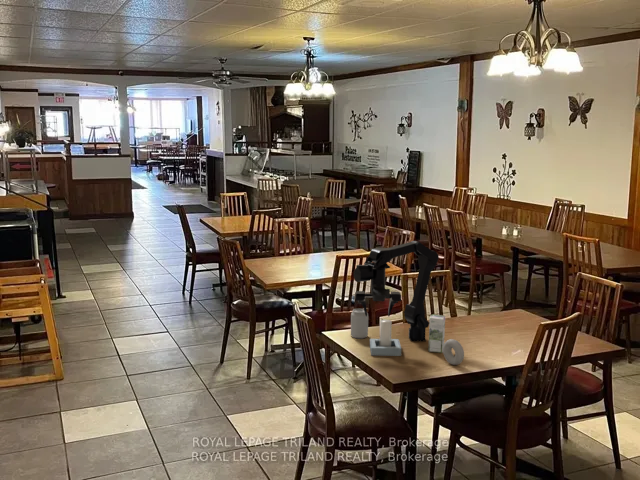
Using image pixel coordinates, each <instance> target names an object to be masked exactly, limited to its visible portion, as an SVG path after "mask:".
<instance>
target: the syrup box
mask: <svg viewBox="0 0 640 480" xmlns="http://www.w3.org/2000/svg"><path fill="white" fill-rule="evenodd" d="M429 316H430V317H429V319H428V322H429V326H428V352H429V353H439V354H440V353H441V354H443V346H444V343H445V332H446V331H445V329H446V315H442V314H430V315H429Z"/></svg>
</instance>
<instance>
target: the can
mask: <svg viewBox="0 0 640 480" xmlns="http://www.w3.org/2000/svg"><path fill="white" fill-rule="evenodd" d="M368 335H369V313H368V312H367V316H366V315H365V311H364V308H353V309H352V312H351V313H350V336H351V337H352V338H354V339H357V340H358V339H359V340H361V339H362V340H363V339H365V338H367V337H368Z"/></svg>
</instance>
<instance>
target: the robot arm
mask: <svg viewBox="0 0 640 480" xmlns="http://www.w3.org/2000/svg"><path fill="white" fill-rule="evenodd" d="M412 253H414V254H415V255H416V256H418V260H417V263H418V266H419V267H418V268H419V270H418V274H417V279H416V283H415V287H414V291H413V296H412V300H411V302H410V303H409V304H408V303H406V304H405V309H404V311H403V314H404V318H405V320H406V321H407V322H406V323H407V324H408V325H410V326H409V327H408V339H409V340H410V342H426V341H427V340H426V331H427V329H428V328H429V320H427V319H426V318H425V315H426V311H425V306H424V302H425V299H426V294H427V291H428V290H427V289H428V285H429V281H430V278H431V277H430V276H431V272H433V270H434V269H435V267H436V266H437V263H438V261H439V257H440V255H439V254H438V251H436V250H431V248H428V247H427V246H425V245H424V243H422V242H420V241H416V240H411V241H409V242H405V243H403V244H398V245H394V246H390V247H375V248H372V249H371V250H370V252H369V255H368V256H367V258H366V260H365V262H364V263H363V264H357V265H356V267H355V268H354V270H353V275H352V276H353V279H354V281H355V283H361V282H368V281H370V282H371V283H370V284H371V285H370V293H366V292H365V290H362V291H361V290H357V291H355V293H354V300H355V301H356V302H358V303H360V304H361V306H362V309H364V311H365V315H366V316H367V313H368V310H367V309H368V308H367V304H366V299H372V301H373V302H386V299H389V300H388V301H389V302H388V311H387V312H388V313H387V316H388V317H387V318H390V315H391V313H392V311H393V308H394V306H395V305H396V304H397V303H399V302H401V301H402V294H401V292H400V291H391V289H390V288H386V269H390V268H391V266H390V265H389V264H388V262H390V261H392V260H393V259H394V258H397V257H400V256H401V257H402V256H405V255H408V254H412ZM426 328H427V329H426Z"/></svg>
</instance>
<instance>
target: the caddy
mask: <svg viewBox="0 0 640 480" xmlns="http://www.w3.org/2000/svg"><path fill="white" fill-rule="evenodd" d="M379 339H380V338H369V349H370V356H384V357H385V356H386V357H387V356H389V357H390V356H392V357H393V356H394V357H395V356H396V357H397V356H398V357H401V356H402V345H401V343H400V339H398V338H391V347H379Z"/></svg>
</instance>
